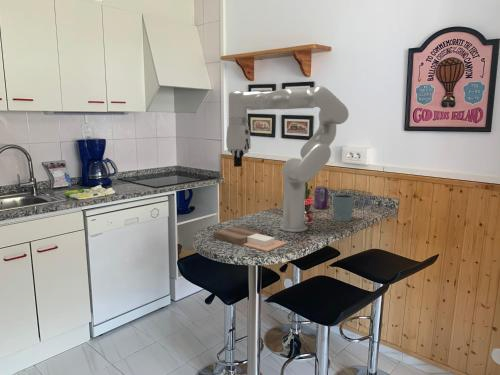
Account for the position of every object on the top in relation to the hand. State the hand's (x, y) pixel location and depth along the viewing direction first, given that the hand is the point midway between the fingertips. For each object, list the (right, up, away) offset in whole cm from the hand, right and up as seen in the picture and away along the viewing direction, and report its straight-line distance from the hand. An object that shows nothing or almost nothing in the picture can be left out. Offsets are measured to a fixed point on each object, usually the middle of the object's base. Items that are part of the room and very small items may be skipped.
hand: (237, 166), depth 164 cm
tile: (+9, -31, -10) cm, 34 cm away
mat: (+11, -31, -10) cm, 35 cm away
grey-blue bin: (+51, -25, +30) cm, 64 cm away
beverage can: (+45, -21, +54) cm, 73 cm away
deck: (0, -30, -2) cm, 30 cm away
